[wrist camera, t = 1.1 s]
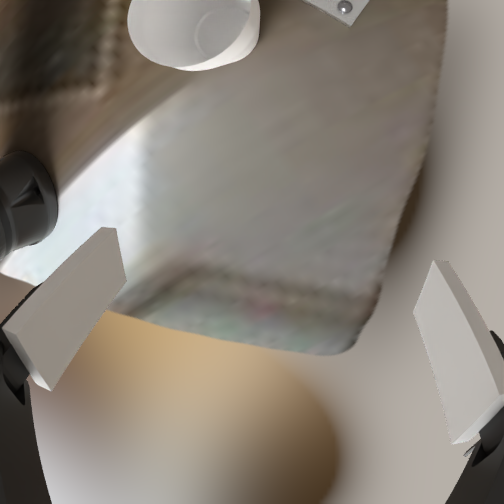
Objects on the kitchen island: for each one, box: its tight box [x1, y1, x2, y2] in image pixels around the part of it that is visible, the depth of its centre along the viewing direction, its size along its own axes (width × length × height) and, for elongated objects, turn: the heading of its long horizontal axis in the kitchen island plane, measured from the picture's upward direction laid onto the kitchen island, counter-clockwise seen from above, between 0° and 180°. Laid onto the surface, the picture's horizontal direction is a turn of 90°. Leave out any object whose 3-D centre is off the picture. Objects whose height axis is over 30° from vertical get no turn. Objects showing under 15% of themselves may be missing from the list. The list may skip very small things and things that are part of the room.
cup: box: [128, 0, 260, 71], centre depth 20 cm, size 9×9×12 cm
